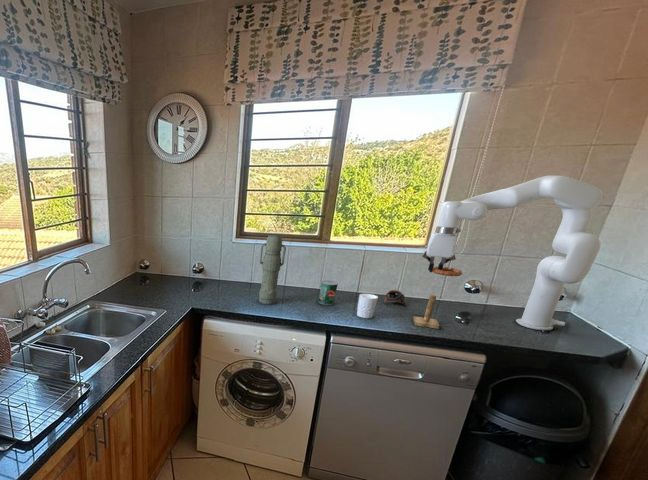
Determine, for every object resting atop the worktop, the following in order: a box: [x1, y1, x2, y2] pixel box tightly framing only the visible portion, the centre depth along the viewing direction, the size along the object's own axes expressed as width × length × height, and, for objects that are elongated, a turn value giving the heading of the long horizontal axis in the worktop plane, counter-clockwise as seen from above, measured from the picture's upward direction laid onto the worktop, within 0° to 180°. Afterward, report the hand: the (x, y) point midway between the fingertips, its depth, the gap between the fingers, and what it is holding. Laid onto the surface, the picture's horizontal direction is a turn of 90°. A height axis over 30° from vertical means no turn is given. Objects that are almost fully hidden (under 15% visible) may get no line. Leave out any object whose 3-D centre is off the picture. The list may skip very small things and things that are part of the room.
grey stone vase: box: [258, 233, 287, 305], centre depth 206 cm, size 9×12×35 cm
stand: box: [412, 294, 440, 330], centre depth 181 cm, size 9×9×14 cm
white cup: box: [356, 293, 379, 319], centre depth 191 cm, size 8×8×10 cm
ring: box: [431, 266, 463, 277], centre depth 180 cm, size 11×11×2 cm
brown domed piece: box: [383, 289, 406, 306], centre depth 210 cm, size 12×10×8 cm
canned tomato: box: [317, 280, 339, 306], centre depth 210 cm, size 8×8×11 cm
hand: (434, 271), depth 182 cm, fingers closed on ring, 2 cm apart
